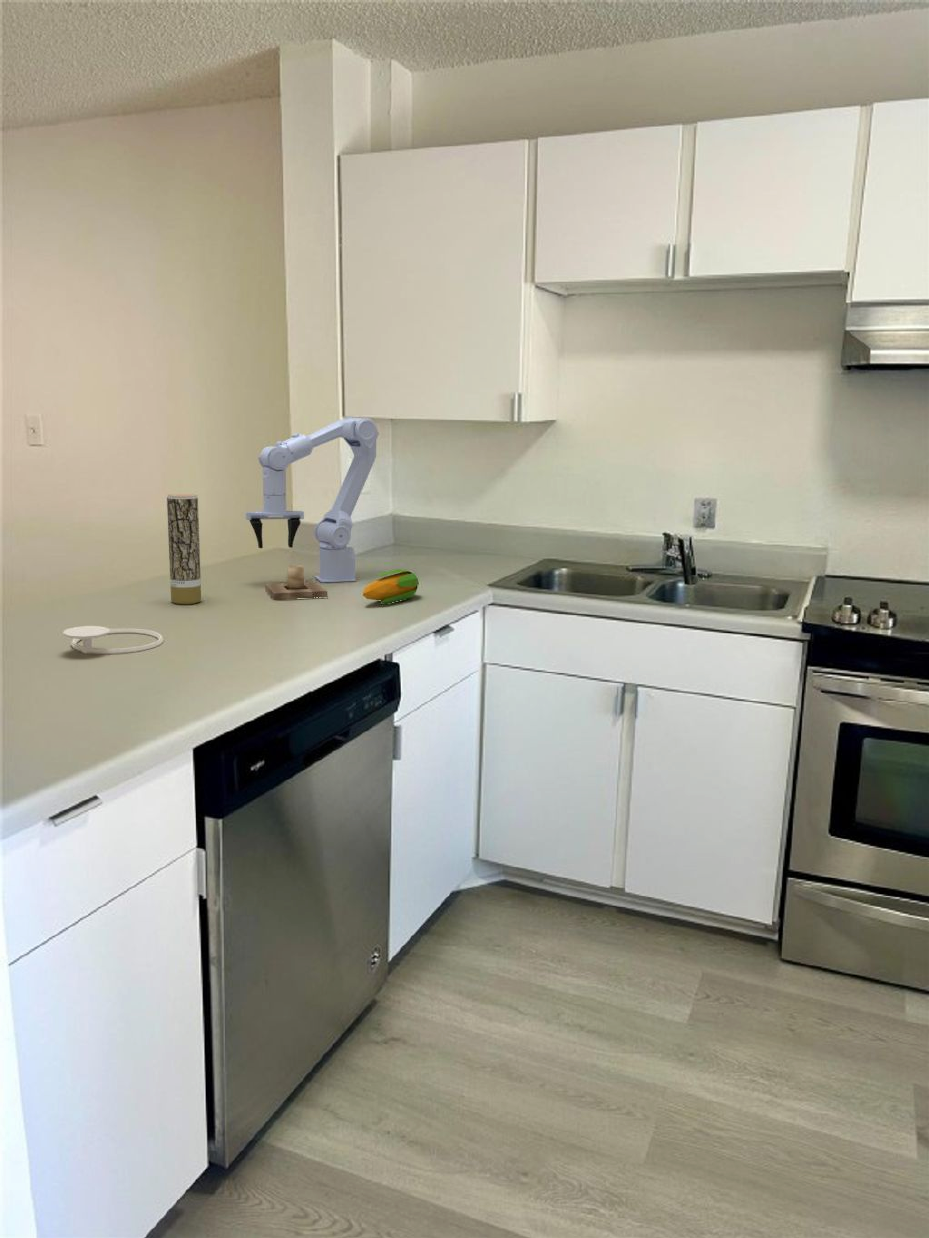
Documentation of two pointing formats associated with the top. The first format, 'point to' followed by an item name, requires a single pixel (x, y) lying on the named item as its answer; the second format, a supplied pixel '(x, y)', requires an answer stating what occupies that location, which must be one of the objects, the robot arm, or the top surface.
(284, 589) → the board
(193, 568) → the paper tube
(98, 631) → the hand towel holder
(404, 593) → the corn
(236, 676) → the top surface
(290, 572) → the peg
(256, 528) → the robot arm
